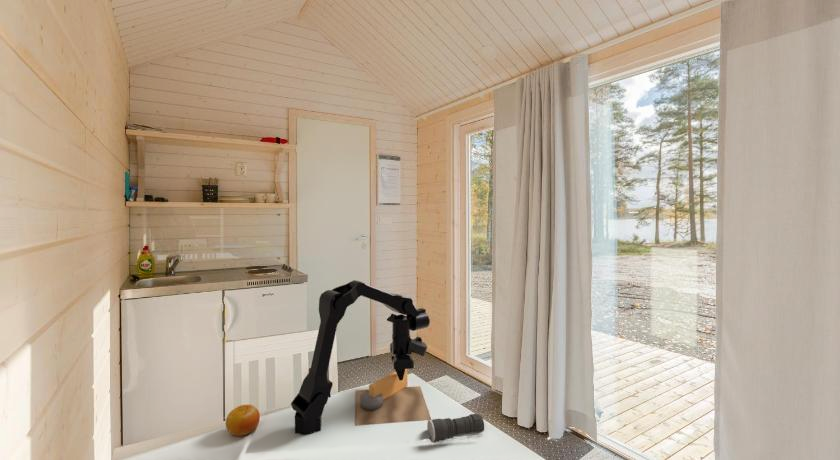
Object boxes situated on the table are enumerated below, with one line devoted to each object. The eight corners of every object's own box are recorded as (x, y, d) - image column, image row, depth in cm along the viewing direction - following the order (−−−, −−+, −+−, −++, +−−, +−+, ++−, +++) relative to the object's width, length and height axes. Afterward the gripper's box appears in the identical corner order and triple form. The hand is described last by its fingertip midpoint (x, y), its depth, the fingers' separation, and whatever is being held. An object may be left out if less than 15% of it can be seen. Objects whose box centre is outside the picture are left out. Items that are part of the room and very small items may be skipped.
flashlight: (477, 426, 117) (477, 408, 116) (485, 437, 111) (486, 418, 111) (427, 435, 112) (427, 416, 112) (433, 446, 107) (433, 426, 107)
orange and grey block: (372, 412, 121) (372, 393, 120) (355, 405, 125) (355, 386, 124) (413, 387, 137) (413, 370, 137) (397, 382, 141) (397, 365, 141)
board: (354, 430, 114) (354, 425, 114) (355, 394, 136) (355, 389, 136) (431, 424, 117) (431, 419, 117) (420, 390, 139) (420, 385, 139)
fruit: (216, 419, 113) (232, 397, 112) (243, 418, 120) (258, 397, 119) (225, 445, 108) (242, 421, 107) (253, 442, 114) (269, 419, 114)
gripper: (430, 341, 124) (429, 391, 125) (421, 324, 143) (421, 368, 144) (394, 342, 123) (393, 393, 124) (389, 325, 141) (389, 369, 142)
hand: (401, 380), depth 133 cm, fingers closed
